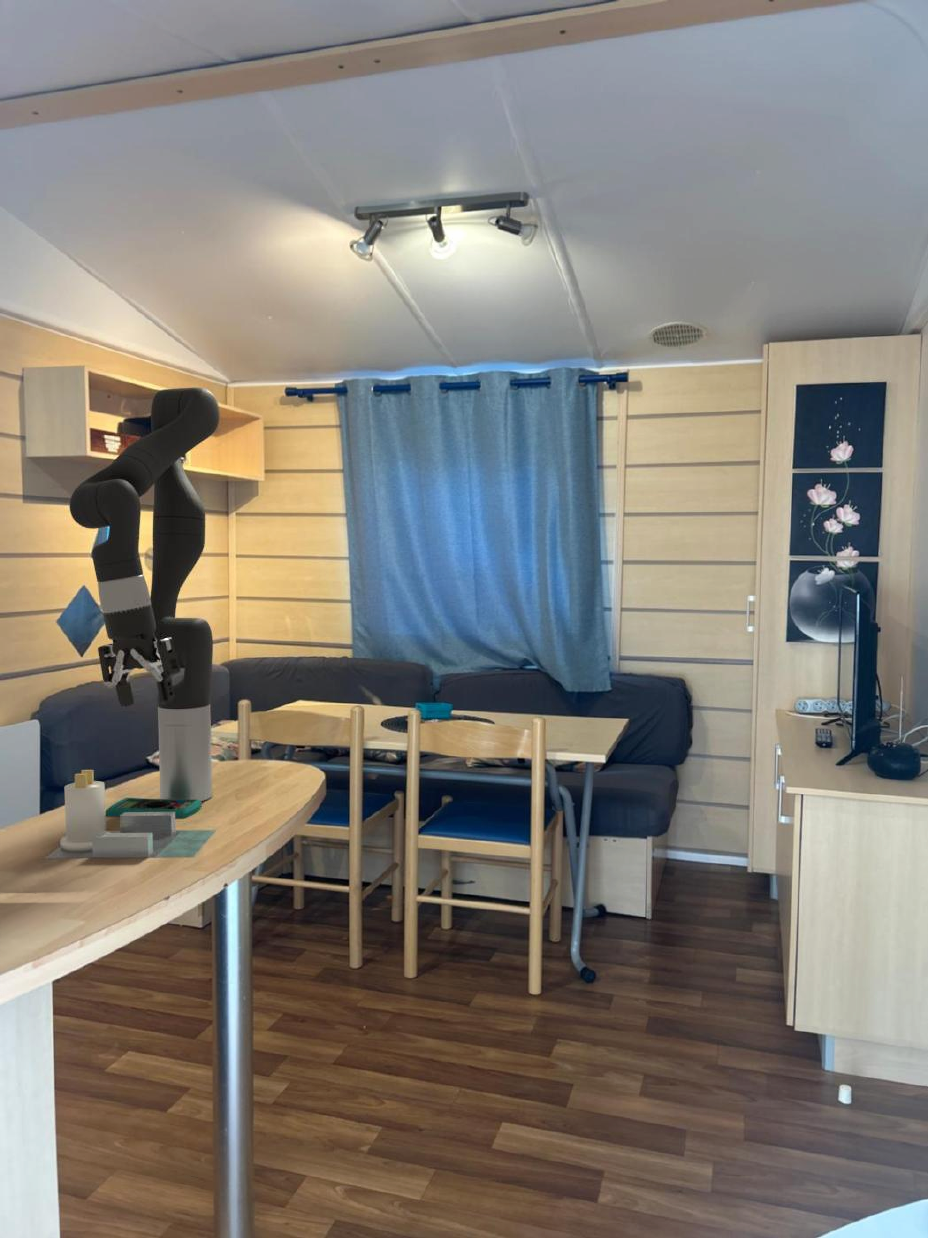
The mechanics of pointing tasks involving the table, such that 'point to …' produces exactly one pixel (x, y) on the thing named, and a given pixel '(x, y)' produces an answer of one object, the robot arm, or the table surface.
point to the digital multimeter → (155, 806)
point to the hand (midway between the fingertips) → (147, 704)
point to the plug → (83, 812)
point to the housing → (143, 839)
